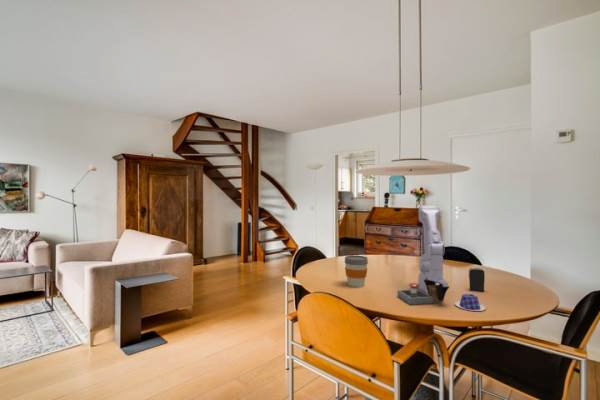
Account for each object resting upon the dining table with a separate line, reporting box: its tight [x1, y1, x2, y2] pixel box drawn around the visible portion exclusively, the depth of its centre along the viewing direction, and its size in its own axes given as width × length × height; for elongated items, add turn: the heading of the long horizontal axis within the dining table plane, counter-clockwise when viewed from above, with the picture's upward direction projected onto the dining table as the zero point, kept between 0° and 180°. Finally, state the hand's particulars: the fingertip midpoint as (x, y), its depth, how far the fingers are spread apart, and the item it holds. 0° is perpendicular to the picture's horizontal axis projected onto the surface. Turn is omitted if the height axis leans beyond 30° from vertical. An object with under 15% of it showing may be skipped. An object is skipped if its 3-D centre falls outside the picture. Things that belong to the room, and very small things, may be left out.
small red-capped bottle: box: [408, 282, 419, 298], centre depth 142 cm, size 4×4×7 cm
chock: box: [428, 285, 444, 304], centre depth 140 cm, size 5×6×7 cm
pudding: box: [454, 293, 486, 312], centre depth 133 cm, size 12×12×5 cm
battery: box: [468, 267, 486, 292], centre depth 156 cm, size 7×4×11 cm, turn 70°
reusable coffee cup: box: [344, 255, 369, 288], centre depth 166 cm, size 13×13×15 cm
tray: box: [396, 288, 433, 306], centre depth 142 cm, size 12×11×3 cm
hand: (435, 297), depth 140 cm, fingers open, 7 cm apart
